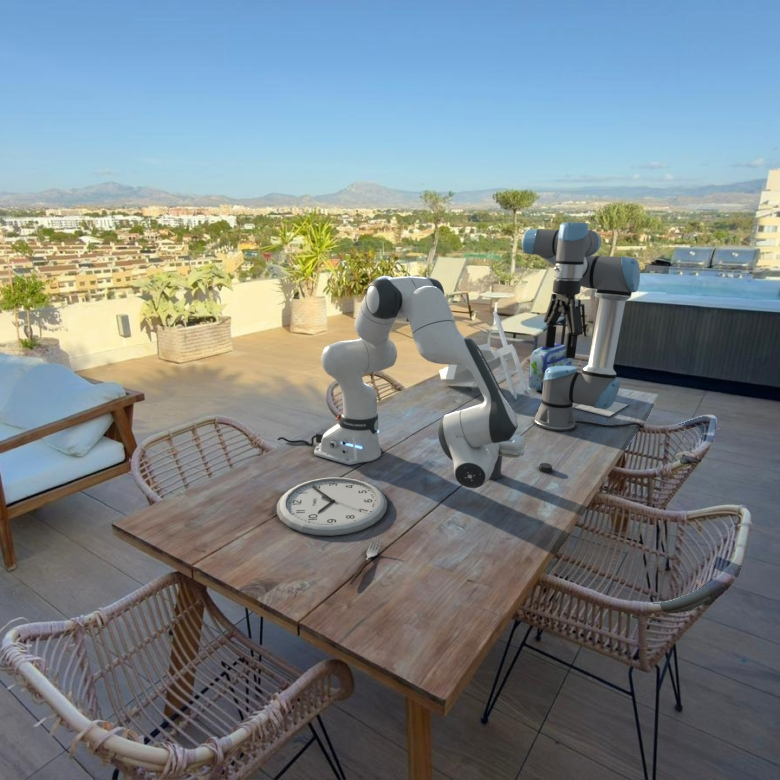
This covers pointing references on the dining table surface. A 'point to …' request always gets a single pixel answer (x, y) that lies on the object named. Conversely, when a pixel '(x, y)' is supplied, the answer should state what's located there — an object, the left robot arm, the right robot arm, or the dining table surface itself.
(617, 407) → the invitation card
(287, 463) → the dining table surface
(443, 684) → the dining table surface
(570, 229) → the right robot arm
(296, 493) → the wall clock
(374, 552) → the fork
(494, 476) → the bottle
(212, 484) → the dining table surface
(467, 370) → the white plastic object
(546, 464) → the cap
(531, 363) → the lunch box
